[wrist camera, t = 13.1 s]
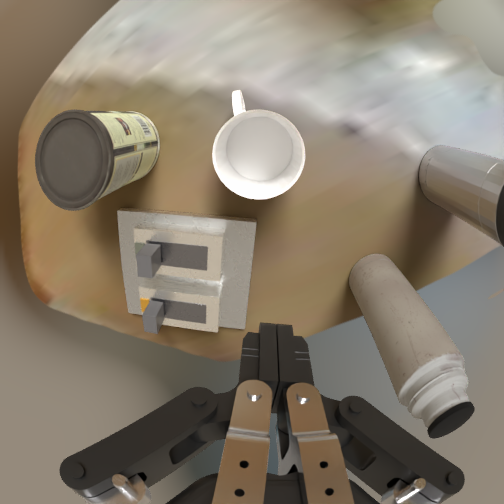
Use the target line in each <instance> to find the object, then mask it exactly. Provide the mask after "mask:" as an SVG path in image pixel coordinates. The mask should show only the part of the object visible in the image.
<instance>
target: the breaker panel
mask: <svg viewBox="0 0 504 504" xmlns="http://www.w3.org/2000/svg"><path fill="white" fill-rule="evenodd" d="M117 215H118V230H119V242H120V253H121V262H122V271H123V278H124V286H125V293H126V299H127V306H128V312H129V313H133V314H139V315H142V314H143V312H144V311H145V309H146V307H147V305H148V304H149V302H150V300H152V301H158V302H163V306H164V317H165V319H164V321H163V323H162V325H168V326H175V327H181V328H188V329H195V330H202V331H210V332H218V329H219V327H227V328H236V329H245V322H246V313H247V304H248V295H249V286H250V277H251V268H252V259H253V250H254V241H255V232H256V223H257V219H250V218H241V217H231V216H220V215H210V214H199V213H187V212H175V211H162V210H149V209H135V208H120V209H119V210H117ZM146 243H149V244H159V245H160V246H161V267H160V268H159V270H158V271H157V273H156V274H155V276H154V277H153V279H151V278H144V277H138V273H137V262H136V254H137V253H138V252H139V251H140V250H141V249H142V247H143V246H144V245H145V244H146Z"/></svg>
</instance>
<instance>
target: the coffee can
mask: <svg viewBox="0 0 504 504" xmlns="http://www.w3.org/2000/svg"><path fill="white" fill-rule="evenodd" d="M159 150H160V139H159V135H158V131H157V129H156V127H155V126H154V124H153V123H152V121H151V120H150V119H149V118H147V117H146V116H145V115H143V114H141V113H138V112H132V111H128V112H120V111H83V110H68V111H64V112H62V113H60V114H58V115H57V116H55V117H54V118H53V119H52V120H51V121H50V122H49V123H48V124H47V125H46V127H45V128H44V130H43V131H42V133H41V135H40V138H39V141H38V144H37V149H36V155H35V166H36V173H37V178H38V181H39V184H40V186H41V188H42V190H43V192H44V193H45V195H46V196H47V197H48V199H49V200H50V201H51V202H53V203H54V204H55V205H56V206H58V207H60V208H62V209H65V210H71V211H76V210H81V209H84V208H86V207H88V206H90V205H91V204H93V203H94V202H95V201H97V200H98V199H100V198H102V197H104V196H106V195H107V194H109V193H111V192H113V191H115V190H117V189H119V188H121V187H123V186H125V185H127V184H129V183H131V182H133V181H135V180H138V179H140V178H142V177H144V176H145V175H146V174H147V173H148V172H150V170H151V169H152V168H153V166H154V165H155V163H156V161H157V158H158V155H159Z"/></svg>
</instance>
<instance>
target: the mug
mask: <svg viewBox="0 0 504 504" xmlns="http://www.w3.org/2000/svg"><path fill="white" fill-rule="evenodd" d="M232 104H233V111H234V117H232V118H231V119H230V120H229V121H227V122H226V123H225V124H224V125H223V127H222V128H221V129H220V131H219V132H218V134H217V136H216V138H215V141H214V145H213V152H212V156H213V164H214V167H215V171H216V173H217V174H218V176H219V178H220V180H221V181H222V182H223V183H224V185H225V186H226V187H228V188H229V189H230V190H231V191H233V192H234V193H236V194H238V195H240V196H243V197H246V198H250V199H268V198H272V197H276V196H278V195H280V194H282V193H284V192H285V191H287V190H288V189H289V188H290V187H291V186H292V185H293V184H294V183H295V182H296V181H297V179H298V178H299V176H300V175H301V172H302V169H303V167H304V162H305V147H304V143H303V140H302V137H301V135H300V133H299V131H298V130H297V129H296V127H295V126H294V125H293V124H292V123H291V122H290V121H289V120H288V119H286V118H285V117H283V116H281V115H280V114H277V113H274V112H272V111H267V110H250V111H246V110H245V105H244V100H243V96H242V92H241V90H238V91H233V93H232Z"/></svg>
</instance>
